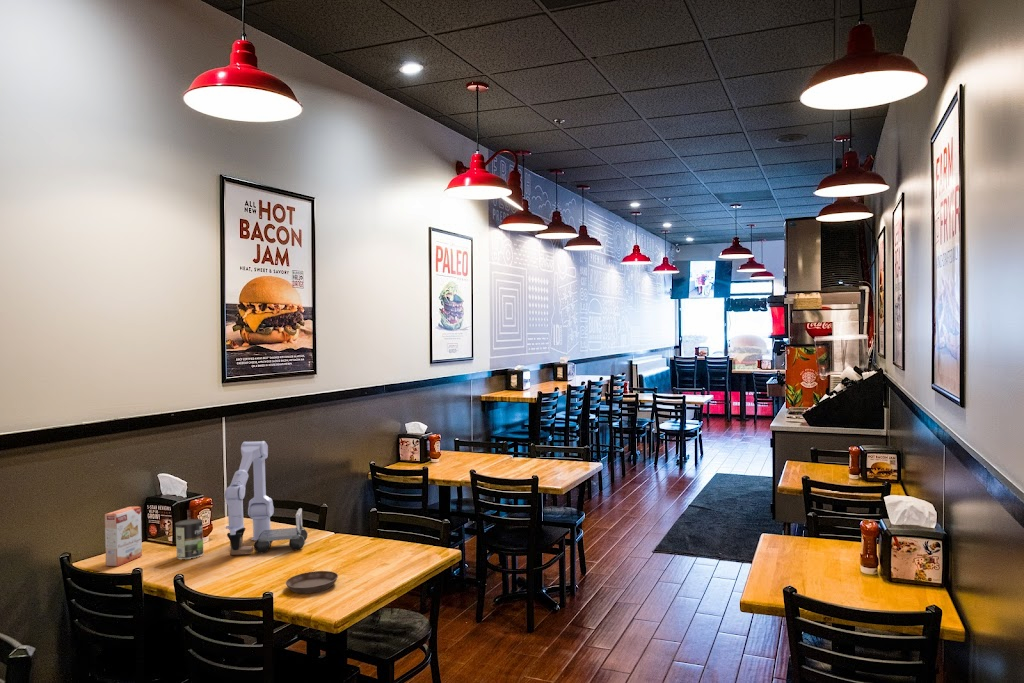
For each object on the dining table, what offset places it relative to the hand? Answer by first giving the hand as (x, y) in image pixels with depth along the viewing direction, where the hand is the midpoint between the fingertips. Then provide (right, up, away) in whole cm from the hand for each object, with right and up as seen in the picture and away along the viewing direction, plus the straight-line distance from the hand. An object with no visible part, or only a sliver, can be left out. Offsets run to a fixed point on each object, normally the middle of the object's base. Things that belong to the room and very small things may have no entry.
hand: (237, 548), depth 293 cm
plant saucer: (+43, -1, -43) cm, 61 cm away
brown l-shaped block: (+2, -2, 0) cm, 3 cm away
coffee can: (-19, -4, +1) cm, 20 cm away
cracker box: (-44, -5, -4) cm, 44 cm away
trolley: (+16, -2, +8) cm, 18 cm away
